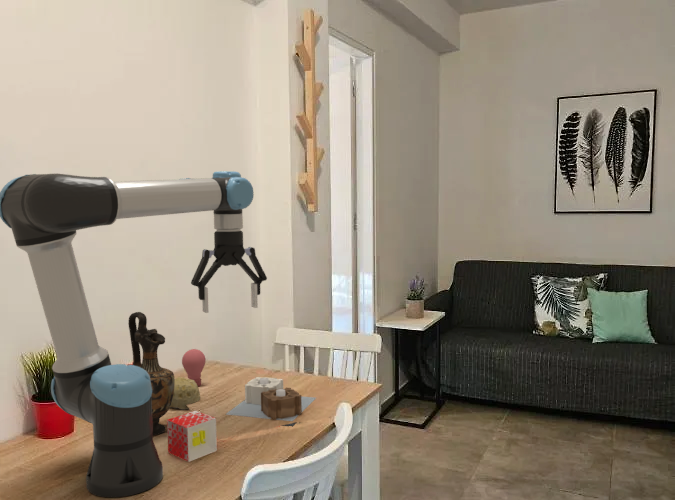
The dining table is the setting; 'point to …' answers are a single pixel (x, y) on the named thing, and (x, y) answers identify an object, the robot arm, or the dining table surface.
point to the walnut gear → (281, 404)
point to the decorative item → (184, 393)
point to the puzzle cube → (191, 435)
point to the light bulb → (194, 364)
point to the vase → (152, 367)
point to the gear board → (256, 412)
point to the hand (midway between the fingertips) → (230, 309)
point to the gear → (260, 389)
